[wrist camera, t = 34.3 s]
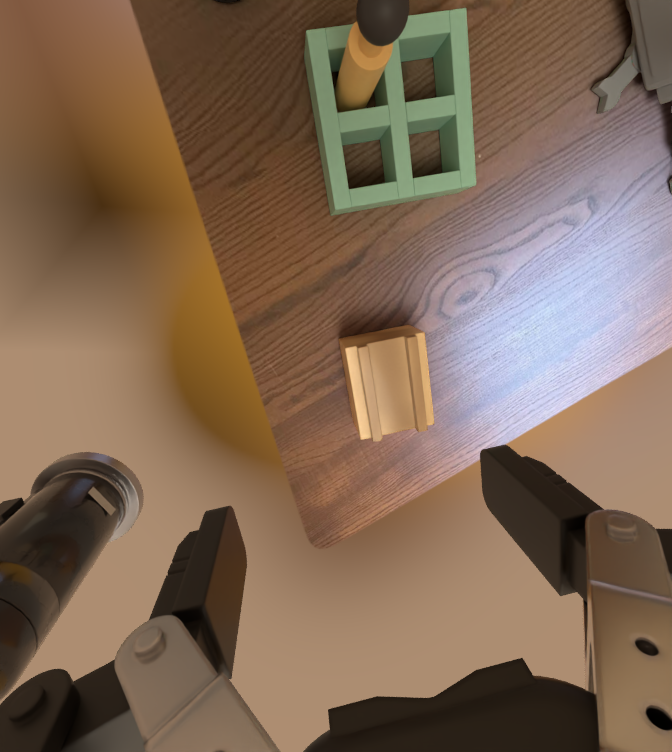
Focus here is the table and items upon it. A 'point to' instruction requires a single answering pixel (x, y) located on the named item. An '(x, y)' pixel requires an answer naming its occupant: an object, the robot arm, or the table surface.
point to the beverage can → (226, 1)
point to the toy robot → (643, 55)
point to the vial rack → (396, 113)
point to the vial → (368, 50)
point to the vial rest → (387, 381)
